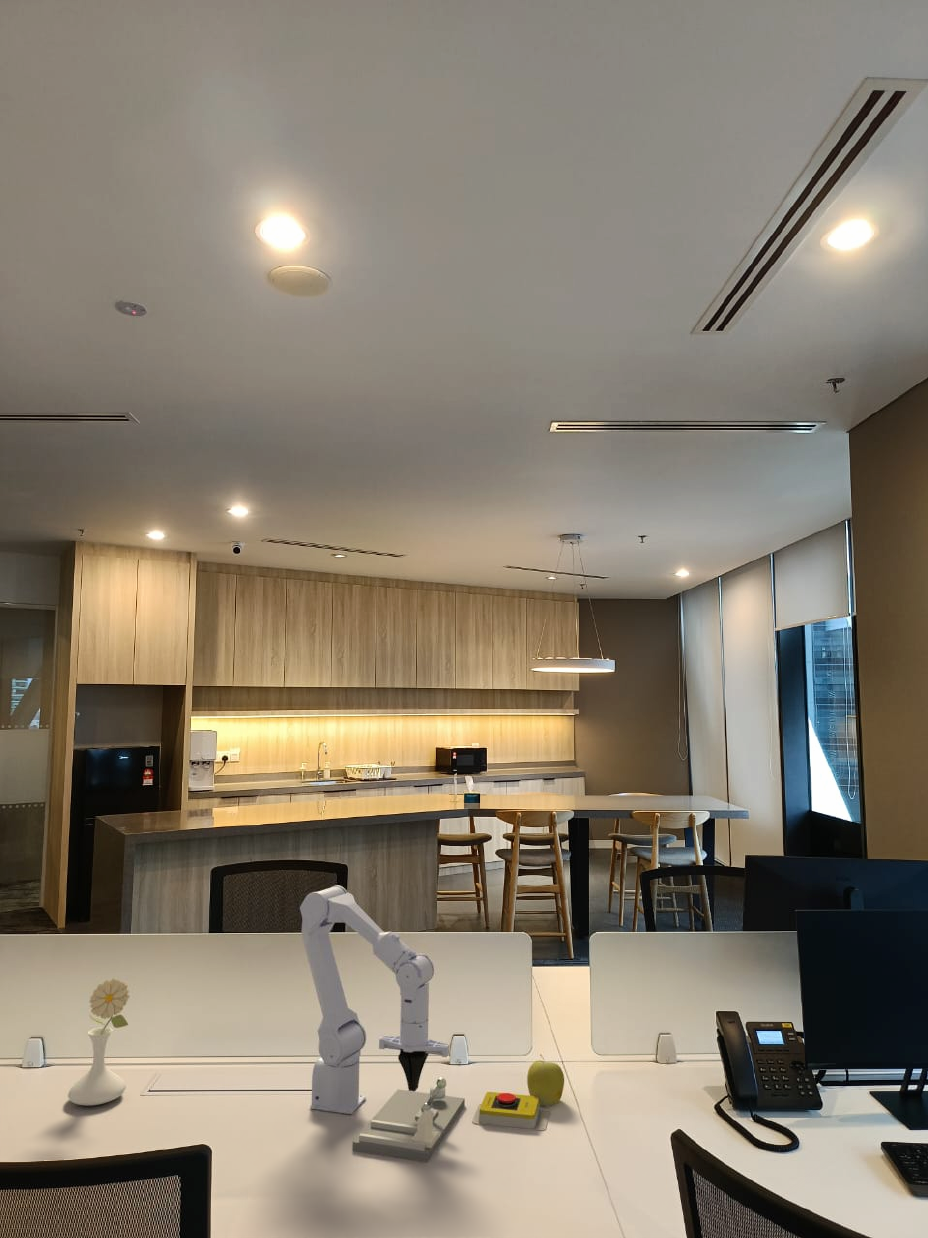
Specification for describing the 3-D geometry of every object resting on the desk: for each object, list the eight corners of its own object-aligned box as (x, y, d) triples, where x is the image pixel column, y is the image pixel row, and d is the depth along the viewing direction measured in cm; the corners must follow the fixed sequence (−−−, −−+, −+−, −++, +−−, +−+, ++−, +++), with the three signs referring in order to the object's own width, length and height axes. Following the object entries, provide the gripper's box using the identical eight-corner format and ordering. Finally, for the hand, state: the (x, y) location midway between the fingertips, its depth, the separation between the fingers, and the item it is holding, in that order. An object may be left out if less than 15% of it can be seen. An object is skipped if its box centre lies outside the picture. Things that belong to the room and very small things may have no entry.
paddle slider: (410, 1145, 160) (411, 1119, 161) (418, 1134, 164) (418, 1109, 165) (431, 1148, 159) (431, 1122, 160) (438, 1137, 163) (438, 1112, 164)
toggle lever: (418, 1110, 172) (438, 1078, 171) (422, 1104, 174) (441, 1073, 173) (426, 1116, 171) (446, 1085, 171) (430, 1111, 173) (449, 1080, 173)
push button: (427, 1098, 178) (428, 1090, 178) (432, 1092, 181) (432, 1084, 181) (442, 1100, 177) (442, 1092, 177) (447, 1094, 180) (447, 1086, 180)
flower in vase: (54, 1105, 179) (61, 981, 182) (96, 1084, 190) (102, 967, 193) (102, 1117, 174) (109, 989, 177) (143, 1094, 185) (148, 974, 188)
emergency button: (479, 1084, 182) (550, 1091, 179) (479, 1106, 181) (550, 1113, 178) (471, 1103, 173) (545, 1111, 170) (471, 1126, 172) (545, 1134, 169)
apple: (551, 1110, 176) (540, 1057, 179) (524, 1110, 181) (515, 1058, 185) (576, 1100, 181) (566, 1048, 184) (550, 1099, 186) (540, 1049, 190)
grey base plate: (352, 1150, 162) (352, 1136, 162) (397, 1096, 184) (397, 1084, 185) (427, 1162, 157) (427, 1148, 158) (464, 1106, 180) (464, 1093, 180)
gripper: (373, 1021, 173) (372, 1092, 172) (442, 1029, 169) (441, 1102, 168) (386, 1010, 180) (385, 1078, 179) (452, 1017, 176) (451, 1087, 174)
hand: (413, 1089), depth 174 cm, fingers closed
